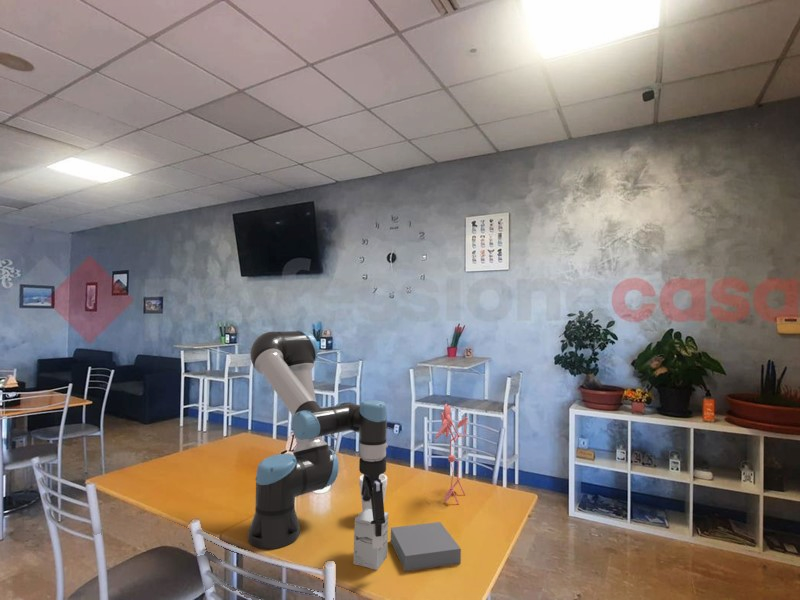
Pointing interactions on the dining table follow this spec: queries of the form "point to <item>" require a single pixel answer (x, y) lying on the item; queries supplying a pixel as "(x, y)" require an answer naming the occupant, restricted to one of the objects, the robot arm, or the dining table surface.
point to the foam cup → (384, 482)
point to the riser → (425, 546)
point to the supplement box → (368, 541)
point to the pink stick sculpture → (445, 428)
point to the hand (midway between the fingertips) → (372, 535)
